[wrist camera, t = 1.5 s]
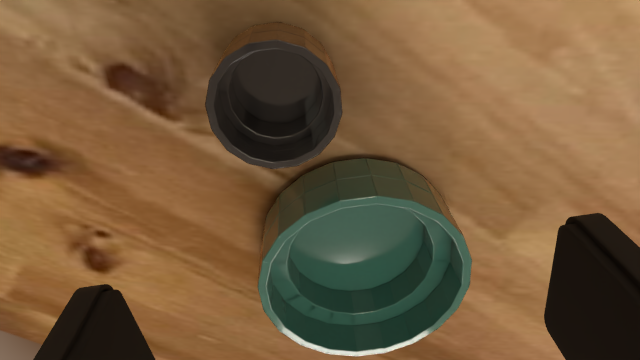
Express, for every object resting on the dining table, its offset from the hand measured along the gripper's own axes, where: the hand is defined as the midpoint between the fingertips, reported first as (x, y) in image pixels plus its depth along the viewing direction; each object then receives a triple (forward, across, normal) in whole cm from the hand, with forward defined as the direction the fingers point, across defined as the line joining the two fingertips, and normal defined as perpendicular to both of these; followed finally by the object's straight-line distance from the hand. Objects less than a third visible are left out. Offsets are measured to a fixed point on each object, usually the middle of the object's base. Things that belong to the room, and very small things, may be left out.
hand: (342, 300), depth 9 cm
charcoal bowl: (+20, +2, +1) cm, 20 cm away
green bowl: (+20, -1, +14) cm, 25 cm away
